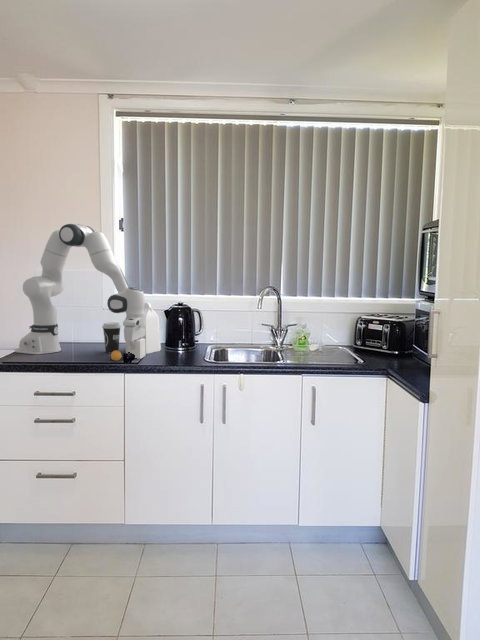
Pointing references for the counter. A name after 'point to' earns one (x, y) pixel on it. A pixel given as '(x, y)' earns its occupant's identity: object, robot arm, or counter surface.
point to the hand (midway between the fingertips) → (135, 347)
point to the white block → (137, 348)
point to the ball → (116, 355)
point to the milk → (151, 330)
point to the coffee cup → (111, 336)
